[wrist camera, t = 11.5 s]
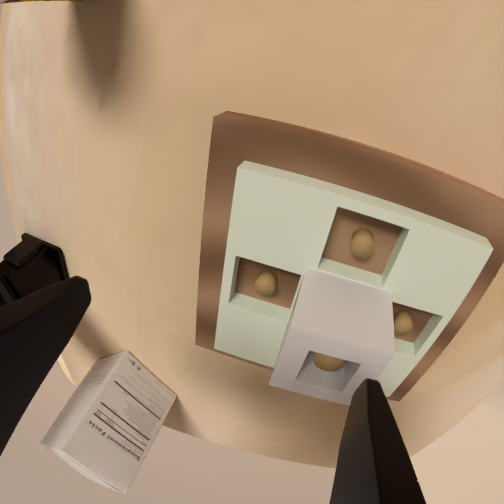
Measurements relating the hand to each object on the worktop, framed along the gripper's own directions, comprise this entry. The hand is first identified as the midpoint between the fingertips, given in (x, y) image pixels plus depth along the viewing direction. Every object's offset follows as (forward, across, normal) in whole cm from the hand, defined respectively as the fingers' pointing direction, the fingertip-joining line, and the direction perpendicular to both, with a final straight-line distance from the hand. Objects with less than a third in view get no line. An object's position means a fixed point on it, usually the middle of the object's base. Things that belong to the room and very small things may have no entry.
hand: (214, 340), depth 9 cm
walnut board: (+12, -5, +5) cm, 14 cm away
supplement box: (+12, +13, +30) cm, 34 cm away
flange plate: (+10, -5, +5) cm, 12 cm away
